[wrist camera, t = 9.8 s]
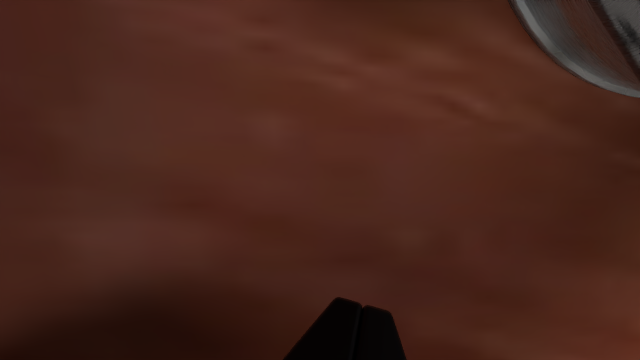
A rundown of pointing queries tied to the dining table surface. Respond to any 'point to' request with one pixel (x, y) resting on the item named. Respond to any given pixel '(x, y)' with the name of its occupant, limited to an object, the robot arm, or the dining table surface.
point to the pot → (577, 42)
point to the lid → (622, 27)
